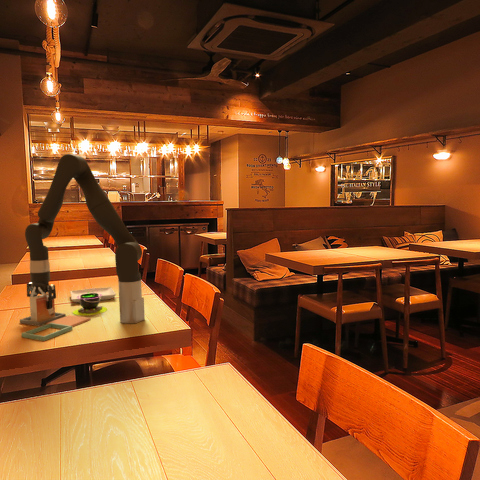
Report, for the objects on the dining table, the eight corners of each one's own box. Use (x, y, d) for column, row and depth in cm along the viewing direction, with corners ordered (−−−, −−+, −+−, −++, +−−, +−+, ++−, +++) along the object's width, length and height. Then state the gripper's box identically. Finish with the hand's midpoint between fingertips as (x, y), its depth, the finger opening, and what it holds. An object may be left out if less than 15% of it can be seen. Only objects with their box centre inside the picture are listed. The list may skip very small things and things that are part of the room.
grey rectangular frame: (65, 317, 176) (65, 313, 175) (39, 326, 163) (39, 322, 163) (46, 314, 180) (46, 311, 180) (19, 323, 168) (19, 319, 168)
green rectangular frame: (72, 329, 158) (72, 326, 158) (44, 340, 146) (43, 336, 146) (51, 326, 163) (50, 322, 163) (21, 337, 151) (21, 333, 150)
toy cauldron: (96, 316, 176) (94, 292, 175) (65, 315, 179) (64, 290, 178) (113, 307, 191) (112, 284, 190) (85, 306, 194) (83, 283, 193)
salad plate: (70, 296, 215) (69, 290, 214) (111, 292, 224) (111, 286, 223) (71, 305, 196) (71, 299, 195) (116, 300, 205) (116, 294, 204)
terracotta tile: (90, 319, 171) (90, 318, 171) (68, 328, 160) (68, 326, 160) (69, 316, 176) (69, 315, 176) (46, 324, 165) (46, 323, 165)
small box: (37, 323, 167) (35, 298, 166) (30, 321, 170) (29, 297, 169) (55, 319, 173) (54, 295, 172) (49, 316, 177) (47, 293, 175)
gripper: (59, 270, 170) (61, 307, 172) (35, 267, 176) (37, 304, 177) (45, 273, 163) (47, 312, 165) (20, 270, 169) (22, 308, 170)
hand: (41, 307), depth 171 cm, fingers open, 8 cm apart
